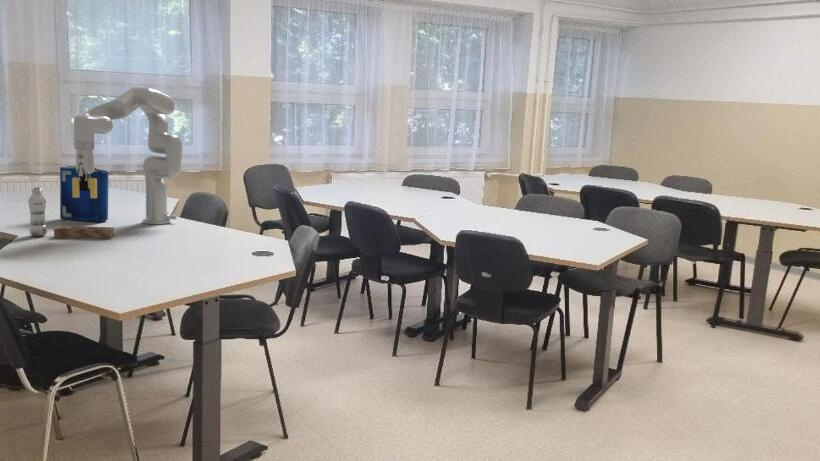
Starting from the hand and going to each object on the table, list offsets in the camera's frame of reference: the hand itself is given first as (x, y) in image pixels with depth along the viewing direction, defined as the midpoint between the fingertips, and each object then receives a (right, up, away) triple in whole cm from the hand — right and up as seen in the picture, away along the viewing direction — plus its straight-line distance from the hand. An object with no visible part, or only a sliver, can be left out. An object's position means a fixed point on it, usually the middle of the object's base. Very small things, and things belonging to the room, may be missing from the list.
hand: (84, 189), depth 299 cm
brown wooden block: (-1, -20, +2) cm, 20 cm away
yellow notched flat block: (0, -3, +1) cm, 3 cm away
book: (-17, -12, +39) cm, 45 cm away
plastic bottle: (-19, -19, -1) cm, 27 cm away
